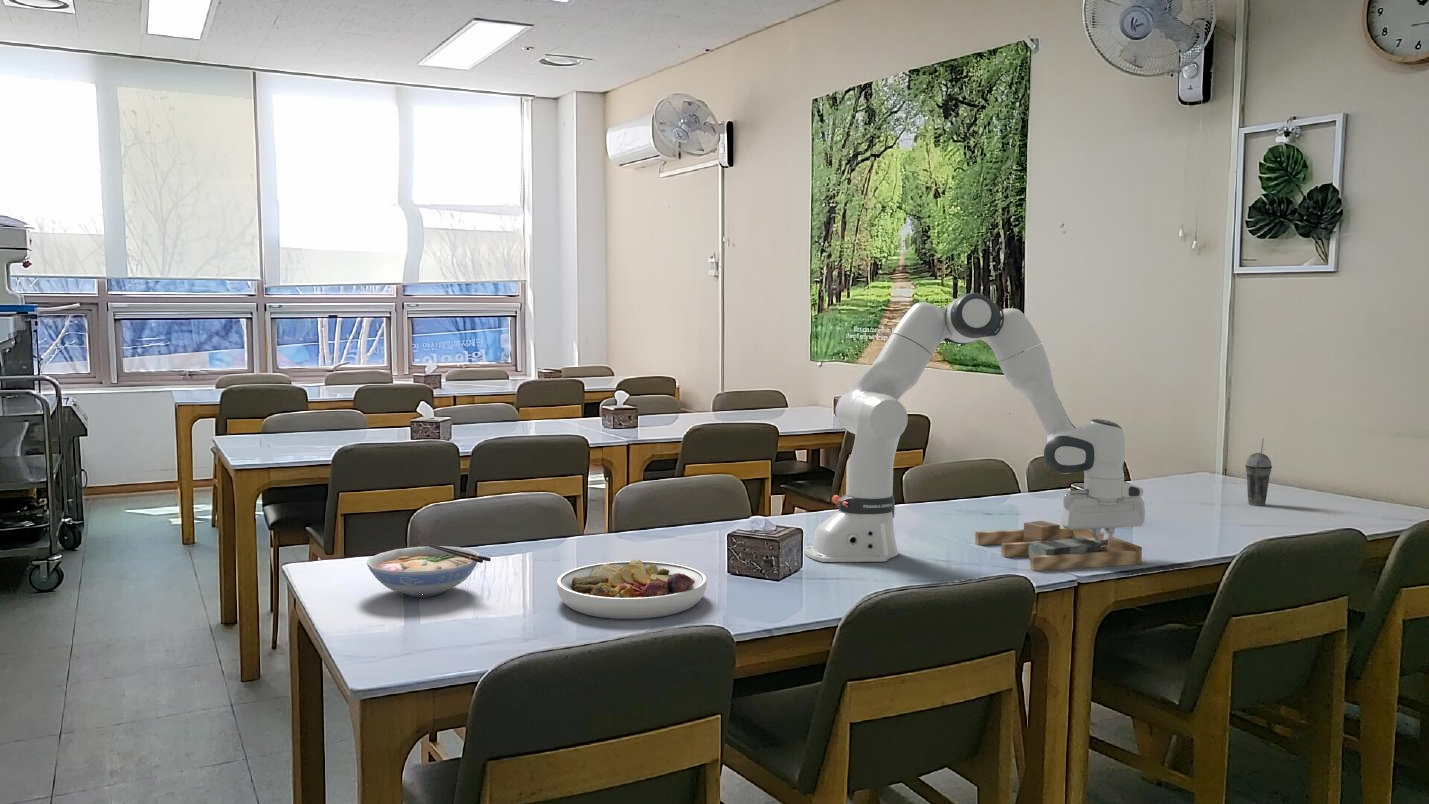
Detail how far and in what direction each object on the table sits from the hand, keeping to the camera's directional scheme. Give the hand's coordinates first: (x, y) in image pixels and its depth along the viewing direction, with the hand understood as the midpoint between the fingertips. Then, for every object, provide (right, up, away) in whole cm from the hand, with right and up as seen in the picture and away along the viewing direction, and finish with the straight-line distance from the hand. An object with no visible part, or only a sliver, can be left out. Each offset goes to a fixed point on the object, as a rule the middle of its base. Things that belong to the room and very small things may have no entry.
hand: (1101, 546), depth 257 cm
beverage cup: (+71, +3, +69) cm, 99 cm away
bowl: (-108, -7, -37) cm, 115 cm away
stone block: (-10, -4, -4) cm, 12 cm away
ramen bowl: (-152, -6, -31) cm, 155 cm away
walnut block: (-11, -2, +11) cm, 16 cm away
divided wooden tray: (-10, -2, +5) cm, 11 cm away
